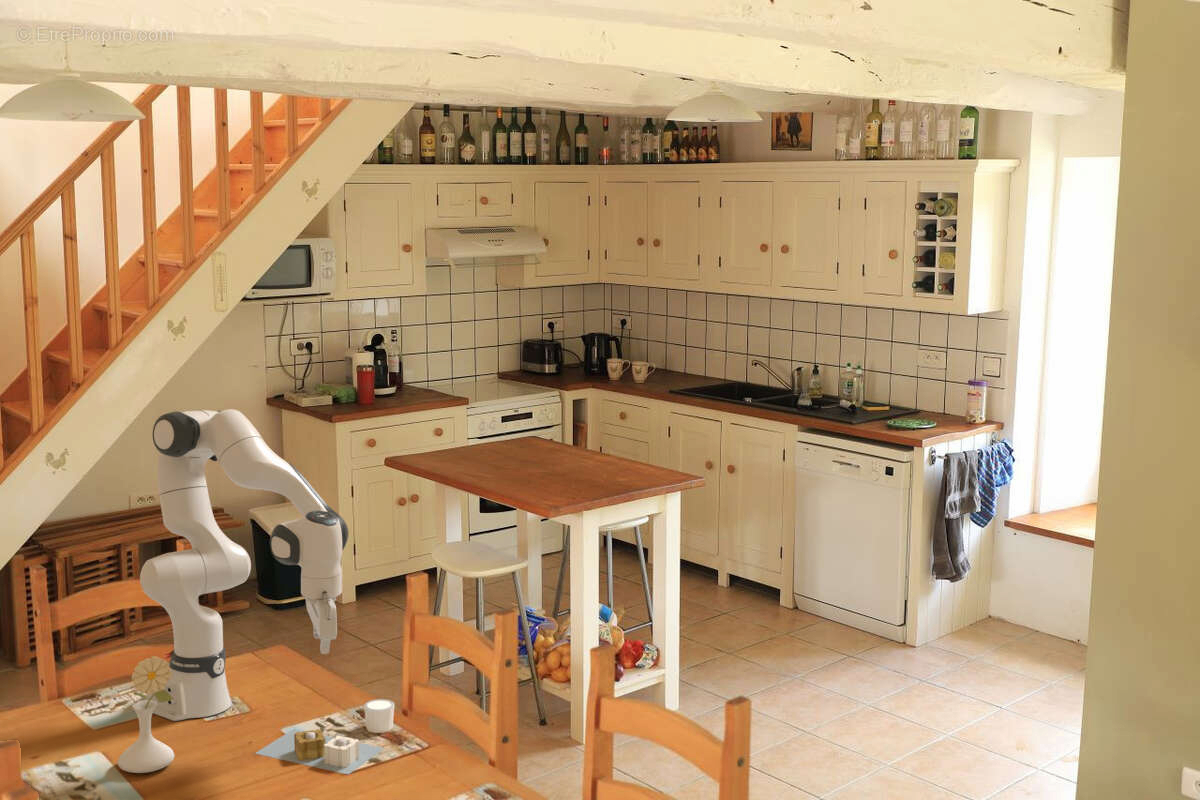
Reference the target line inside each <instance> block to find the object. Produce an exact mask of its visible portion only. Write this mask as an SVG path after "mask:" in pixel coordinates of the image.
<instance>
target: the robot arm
mask: <svg viewBox="0 0 1200 800" xmlns="http://www.w3.org/2000/svg"><path fill="white" fill-rule="evenodd" d="M152 441H153V444H154V447H155V448H156V450H157V451H158V452H159V455H158V457H157V464H156V474H157V475H156V476H157V477H156V478H157V489H158V497H159V504H160V508H161V514H162V515H161V516H162V521H163V525H164V527H165V528H166V529H167V530H168V531H169V532H171V533H172V534H175V535H178V536H181V537H183V538H185V539H186V540H188V542H189V543H190V545H191V548H190V549H184V550H178V551H173V552H171V551H170V552H166V553H163V554H161V555H158V556H155V557H154V556H153V557H152V558H150V559H147V560H146V561H145V563H144V564H143V566H142V568H141V570H140V575H139V581H140V586H141V589H142V591H143V592H144V593H145V594H146V596H147V597H148V598H149V599H151V600H152V601H153V602H156V603H158V604H159V605H161V606H162V608H164V610H165V611H166V612H167V614H168V616H169V618H170V621H171V623H172V632H173V644H174V645H173V646H174V647H173V648H174V649H173V650H171V651H170V652H169V653H168V652H167V653H166V654H165V656H166V657H165V658H164V660H166V659H169V658H170V660H169V666H168V667H170V668H171V670H170V672H172V675H171V678H170V681H169V682H168V683H167V686H166V687H165V688H164V689H163V690H166V691H167V692H168V693H169V695H170V696H171V697H172V698H173V700H170V701H166V702H159V701H158V700H157V698H156V697H155V694H154V696H153V698H152V699H151V700H150V701H155V702H156V703H157V705H156V707H155V708H154V710H153V713H152V714H154V715H157V716H159V717H162V718H165V719H168V720H170V721H173V722H176V721H177V722H178V721H183V720H187V719H195V718H205V717H206V718H207V717H211V716H215V715H218V714H219V713H222V712H224V711H226V710H228V709H229V708H230V707H231V706H232V703H233V701H232V699H231V696H230V692H229V688H228V683H227V677H226V670H225V666H226V648H225V646H224V634H223V633H224V630H223V629H224V628H223V627H224V626H223V624H224V623H223V619H222V617H221V615H220V614H219V613H218V611H216V610H215V609H213V608H210V607H207V606H203V605H201V604H200V602H199V597H200V596H202V595H204V594H211V593H216V592H221V591H226V590H230V589H232V588H235V587H236V586H239V585H241V584H243V583H245V582H247V580H248V578H249V576H250V573H251V571H252V562H251V561H252V560H251V558H250V555H249V553H248V552H247V549H245V548H244V547H243V546H242V545H240V544H237V543H235V542H234V541H232V540H231V539H230V538H229V537H228V536H227V535H226V534H225V533H224V532H223V530H222V529H221V528H220V527H219V524H218V522H217V521H216V519H215V517H214V513H213V508H212V504H211V500H210V495H209V490H208V484H207V478H206V472H205V467H206V464H207V463H208V460H211V461H212V462H217V461H218V463H219V466H221V468H222V469H223V471H224V473H225V475H226V476H227V477H228V478H229V479H230V480H231V481H232V482H233V483H234V484H236V485H237V486H239V487H242V488H244V489H245V488H246V489H250V490H259V491H260V490H262V491H268V492H273V493H276V494H279V495H282V496H284V497H285V498H287V499H288V500H289V501H290V502H291V503H292V504H293V506H294V508H296V509H297V511H298V512H299V513H300V514H301V515H302V517H300V518H297V519H293V520H289V521H285V522H284V521H283V522H282V523H279V524H277V525H275V526H274V527H273V530H272V531H271V534H270V538H269V548H270V553H271V555H272V556H273V558H275V560H276V561H278V562H279V563H281V564H283V565H287V566H296V565H297V566H300V568H301V572H300V593H301V594H300V595H302V596H303V597H305V598H304V599H305V606H306V611H307V613H308V615H309V617H310V620H311V622H312V629H313V637H314V639H316V640H317V639H319V640H320V645H319V646H320V647H319V651H320V653H321V654H322V655H327V654H330V647H331V640H332V641H333V640H336V639H337V636H338V621H337V620H338V619H337V617H338V616H337V614H338V613H337V607H336V603H335V602H336V600H337V597H338V596H341V594H342V592H343V569H342V564H341V560H342V556H343V551H344V549H345V547H346V545H347V543H348V541H349V533H350V532H349V528H348V524H347V523H346V522H345V520H344V518H343V517H342V516H341V515H340V514H339V513H337V512H336V511H335V510H334V509H333V508H331V507H330V506H329V505H328V504H327V503H326V501H325V500H324V499H323V498H322V497H321V496H320V494H319V493H318V492H317V491H316V490H315V488H314V487H313V486H312V485H311V483H309V481H308V480H307V479H306V478H305V477H304V475H303V474H302V473H301V472H300V471H299V470H298V469H297V468H296V466H294V465H293V464H292V463H291V462H288V461H286V460H285V459H283V458H282V457H280V456H279V455H278V454H276V453H275V452H274V451H273V450H272V449H271V448H270V446H268V444H267V443H266V442H265V440H264V438H263V437H262V435H261V434H260V432H259V430H257V429H256V427H255V426H254V424H253V423H252V422H251V421H250V420H249V419H248V418H247V417H246V416H245V415H244V413H242V412H241V411H239V410H238V409H232V408H230V409H229V408H228V409H224V410H210V409H209V410H208V409H195V410H186V411H171V412H167V413H165V414H162V415H160V416H159V417H158V418H157V419H156V420H155V422H154V425H153V427H152ZM144 695H145V696H146V697H147V698H148V699H146V698H143V697H140V698H139V699H138V700H137V701H136V703H137V702H140V701H146V700H149V699H150V698H151V696H152V695H153V694H151V695H147V694H144Z"/></svg>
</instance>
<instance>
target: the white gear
mask: <svg viewBox="0 0 1200 800" xmlns="http://www.w3.org/2000/svg"><path fill="white" fill-rule="evenodd" d="M338 739H346V746H341V747H339V746H337V740H338ZM359 743H360V742H359V739H358V738H356V739H355V738H352V737H347V736H342V735H336V736H335V737H334V739H332V740H330V741H329V742H328V744H324V762H325V764H330V765H334V766H339V767H340V766H342V768H344V767H348V765H350V764H352V763H353V762H355V761H356V759H359Z"/></svg>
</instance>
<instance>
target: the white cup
mask: <svg viewBox="0 0 1200 800" xmlns="http://www.w3.org/2000/svg"><path fill="white" fill-rule="evenodd" d="M395 705H396V704H395V702H394V701H393V700H392V701H391V699H384V698H383V699H382V698H380V699H372V700H369V701H367V702H365V704H364V705H363V709H364V717H365V726H366V727H365V728H366V731H368V732H370V733H375V734H377V733H378V734H380V733H381V734H382V733H385V732H389V731H390V730H392V729H393V726H394V725H393V724H394V715H395Z"/></svg>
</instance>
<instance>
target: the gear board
mask: <svg viewBox="0 0 1200 800" xmlns="http://www.w3.org/2000/svg"><path fill="white" fill-rule="evenodd" d="M303 731H304V730H299V729H295V728H293V729H292V730H290V731H288V732H287V733H285V734H283V735H282V736H280V737H279V738H277V739H275V740H273V741H272V742H271V743H269V744H267V745H266V746H264V747H262V748H261V749H259V750H258V751H256V752H254V754H256V755H259V756H264V757H269V758H272V759H277V760H282V761H284V762H285V761H286V762H290V763H295V764H300V765H305V766H307V767H308V766H309V767H313V768H318V769H322V770H324V771H325V770H327V771H331V772H334V773H339V774H344V775H350V774H351V773H353V772H354V771H355V770H357V769H358V768H359V767H361V766H362V765H364V764H365V763H366V762H368V761H369V760H370V759H372V758H373V757H375V756H376V755H378V753H380V752H381V751H383V750H384V749H385V748H384V747H381V746H378V745H377V746H376V745H371V744H366V743H362V742H359V759H356V761H355V762H353V763H352V764H350V765H348V767H344V768H342V766H340V767H339V766H334V765H330V764H325V762H324V757H318V758H313V759H304V760H298V757H297V754H296V752H295V747H294V734H295V733H297V732H300V733H301V732H303ZM323 736H324V738H325V744H328V742H329V741H330V740H332V739H334V738H335V737H333V736H328V735H324V734H323ZM306 739H307V740H309V739H315V733H314V732H308V733H306ZM337 746H339V747H341V746H346V739H338V740H337Z"/></svg>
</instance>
